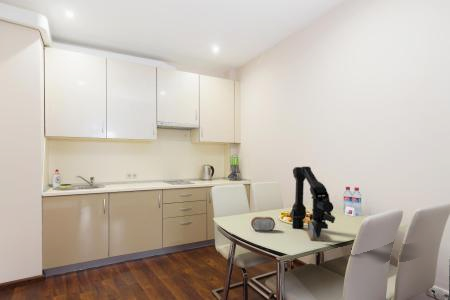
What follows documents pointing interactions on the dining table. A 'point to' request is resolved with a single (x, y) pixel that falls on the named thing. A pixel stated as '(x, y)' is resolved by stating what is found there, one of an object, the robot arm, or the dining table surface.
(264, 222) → the tin
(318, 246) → the dining table surface
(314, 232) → the plug
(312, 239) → the header board
